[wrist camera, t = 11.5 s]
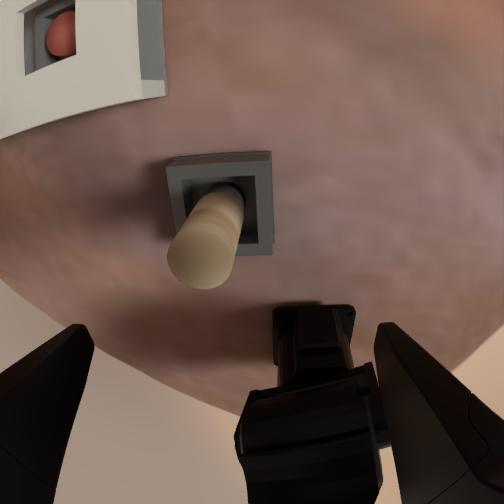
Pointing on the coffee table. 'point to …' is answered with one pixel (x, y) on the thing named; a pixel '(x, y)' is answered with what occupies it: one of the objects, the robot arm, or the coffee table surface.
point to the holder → (238, 172)
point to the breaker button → (62, 35)
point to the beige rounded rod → (209, 238)
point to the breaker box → (78, 59)
